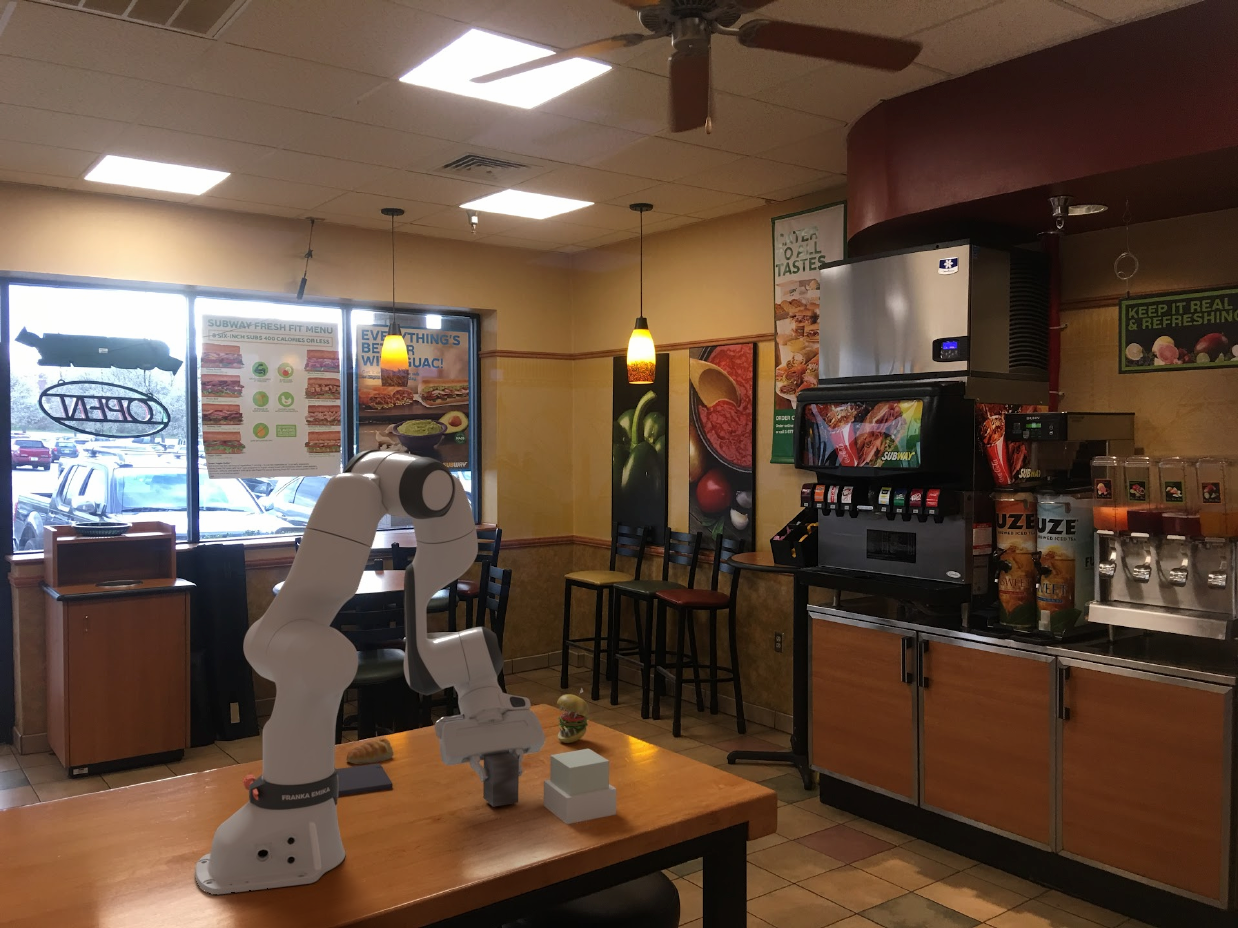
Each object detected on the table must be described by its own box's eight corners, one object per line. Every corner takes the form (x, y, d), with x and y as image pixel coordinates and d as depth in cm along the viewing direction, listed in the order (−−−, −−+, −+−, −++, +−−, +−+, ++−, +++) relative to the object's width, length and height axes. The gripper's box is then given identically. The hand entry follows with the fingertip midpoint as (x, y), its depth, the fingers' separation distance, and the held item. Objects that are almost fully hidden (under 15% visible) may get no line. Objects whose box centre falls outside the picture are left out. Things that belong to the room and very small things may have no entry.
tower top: (569, 795, 174) (569, 767, 174) (550, 781, 181) (550, 755, 181) (608, 787, 178) (609, 760, 178) (588, 774, 185) (588, 748, 185)
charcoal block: (492, 806, 179) (493, 763, 179) (483, 797, 183) (483, 755, 183) (518, 802, 181) (518, 759, 181) (508, 793, 186) (508, 751, 185)
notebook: (277, 807, 181) (392, 791, 190) (277, 799, 181) (392, 783, 190) (271, 784, 193) (380, 770, 201) (271, 776, 193) (380, 762, 201)
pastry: (355, 768, 201) (355, 750, 201) (340, 761, 206) (340, 743, 206) (396, 758, 208) (396, 740, 208) (380, 751, 213) (380, 734, 213)
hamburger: (551, 737, 222) (552, 685, 222) (581, 734, 225) (581, 682, 225) (563, 747, 215) (563, 693, 215) (593, 744, 218) (594, 690, 218)
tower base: (566, 825, 173) (566, 797, 173) (543, 806, 182) (543, 780, 182) (616, 815, 178) (616, 788, 178) (591, 797, 187) (591, 771, 187)
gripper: (436, 709, 183) (452, 777, 175) (536, 697, 193) (556, 761, 184) (428, 727, 187) (444, 794, 179) (527, 714, 197) (546, 777, 188)
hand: (502, 777), depth 182 cm, fingers closed on charcoal block, 5 cm apart
